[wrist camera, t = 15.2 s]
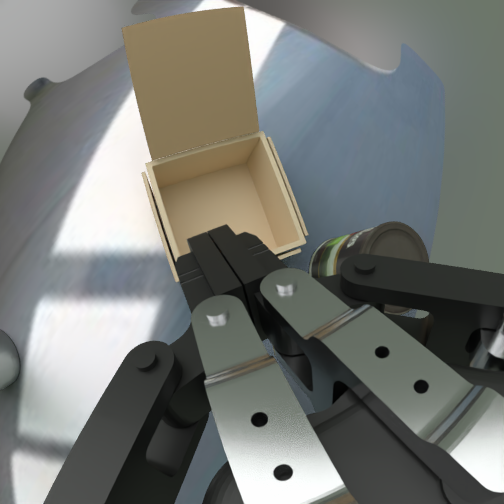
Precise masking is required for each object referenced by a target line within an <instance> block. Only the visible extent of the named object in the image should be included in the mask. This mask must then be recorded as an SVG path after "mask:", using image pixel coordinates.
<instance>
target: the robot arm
mask: <svg viewBox="0 0 504 504" xmlns="http://www.w3.org/2000/svg"><path fill="white" fill-rule="evenodd" d="M187 243H188V246H189V249H190V253H187V254H185V255H182V256H180V257H178V258H177V261H176V264H175V270H176V272H177V275H178V278H179V281H180V284H181V286H182V289H183V292H184V294H185V297H186V300H187V303H188V305H189V308H190V310H191V314H192V315H191V324H190V326H189V328H188V330H187V331H186V332H185V333H184V334H183V335H182V336H181V337H180V338H179V339H177V340H176V341H175V342H173V343H172V344H170V345H167V344H166V343H164V342H160V341H149V342H145V343H142V344H140V345H138V346H136V347H135V348H134V349H132V350H131V351H130V352H129V353H128V354H127V356H126V357H125V359H124V360H123V362H122V364H121V365H120V367H119V368H118V370H117V372H116V373H115V375H114V377H113V378H112V380H111V382H110V383H109V385H108V387H107V388H106V390H105V392H104V393H103V395H102V397H101V398H100V400H99V402H98V404H97V405H96V407H95V409H94V410H93V412H92V414H91V416H90V417H89V419H88V421H87V423H86V424H85V426H84V428H83V430H82V431H81V433H80V435H79V437H78V439H77V440H76V442H75V444H74V446H73V448H72V449H71V451H70V453H69V455H68V457H67V459H66V461H65V462H64V464H63V466H62V468H61V470H60V472H59V474H58V476H57V478H56V480H55V482H54V483H53V485H52V487H51V489H50V491H49V493H48V495H47V497H46V499H45V501H44V503H43V504H174V503H175V500H176V498H177V495H178V493H179V490H180V488H181V486H182V483H183V481H184V478H185V476H186V473H187V471H188V468H189V466H190V463H191V461H192V459H193V456H194V454H195V451H196V449H197V446H198V444H199V441H200V439H201V436H202V433H203V431H204V428H205V426H206V423H207V421H208V418H209V412H210V411H211V410H212V412H213V415H214V419H215V422H216V425H217V428H218V431H219V434H220V437H221V440H222V443H223V446H224V449H225V452H226V455H227V458H228V461H227V462H226V463H225V464H224V465H223V466H222V467H221V468H220V470H219V471H218V472H217V473H216V475H215V476H214V478H213V479H212V481H211V483H210V485H209V487H208V489H207V491H206V494H205V497H204V500H203V503H202V504H504V274H499V273H493V272H487V271H481V270H474V269H468V268H461V267H454V266H448V265H441V264H434V263H428V262H421V261H414V260H407V259H401V258H394V257H387V256H380V255H372V254H357V255H353V256H350V257H348V258H347V259H345V260H344V261H343V262H342V264H341V266H340V274H336V275H331V276H326V277H320V278H313V277H311V276H310V275H309V274H308V273H306V272H305V271H303V270H300V269H296V268H288V267H287V266H286V265H285V264H284V263H283V262H282V261H281V260H280V259H279V258H278V257H277V256H276V255H275V254H274V253H273V252H272V251H271V250H269V248H268V247H267V246H266V245H265V244H263V242H262V241H261V240H260V239H259V238H258V237H257V236H256V235H253V234H250V233H248V232H243V233H240V234H237V235H236V234H235V233H234V232H233V231H232V229H231V228H230V227H229V226H228V225H227V224H225V225H223V226H220V227H217V228H214V229H212V230H209V231H207V232H204V233H201V234H198V235H196V236H193V237H190V238H188V239H187ZM385 304H388V305H394V306H399V307H405V308H412V309H418V310H424V311H427V312H429V315H428V316H426V317H425V318H421V319H418V318H412V317H406V316H400V315H394V314H389V313H384V309H385ZM267 338H268V339H269V340H270V342H271V343H272V345H273V350H274V354H275V357H276V358H277V360H278V361H279V362H280V363H281V365H282V366H283V367H284V368H285V370H286V371H287V372H288V373H289V375H290V376H291V377H292V378H293V379H294V381H295V382H296V383H297V384H298V386H299V387H300V388H301V389H302V391H303V392H304V393H305V394H306V395H307V397H308V398H309V399H310V401H311V403H312V405H313V407H314V409H315V412H316V413H313V414H309V415H305V413H304V412H303V410H302V408H301V406H300V404H299V402H298V400H297V399H296V397H295V395H294V393H293V391H292V389H291V387H290V386H289V384H288V382H287V380H286V378H285V376H284V374H283V372H282V370H281V369H280V367H279V365H278V363H277V361H276V360H275V358H274V357H273V356H269V355H268V353H267V351H266V349H265V347H264V345H263V343H262V341H263V340H265V339H267ZM19 371H20V362H19V356H18V353H17V350H16V347H15V346H14V344H13V342H12V340H11V339H10V338H9V336H8V335H7V334H6V333H4V332H3V331H2V330H0V390H2V389H3V388H5V387H7V386H8V385H10V384H12V383H13V382H14V381H15V380H16V379H17V377H18V375H19Z"/></svg>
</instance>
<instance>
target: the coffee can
mask: <svg viewBox="0 0 504 504" xmlns="http://www.w3.org/2000/svg"><path fill="white" fill-rule="evenodd" d="M357 254H372V255H380V256H387V257H394V258H401V259H407V260H414V261H421V262H428V263H429V258H428V254H427V250H426V248H425V245H424V243H423V241H422V239H421V238H420V236H419V235H418V234H417V233H416V232H415V231H414V230H413V229H412V228H411V227H409V226H408V225H406V224H404V223H401V222H394V221H393V222H387V223H383V224H381V225H379V226H377V227H373V228H370V229H366V230H363V231H359V232H356V233H352V234H349V235H345V236H342V237H338V238H332V239H329V240H327V241H325V242H323V243H322V244H321V245H320V246H319V247H318V248H317V249H316V251H315V252H314V254H313V256H312V258H311V262H310V267H309V275H310V276H311V277H313V278H320V277H326V276H331V275H336V274H340V266H341V264H342V262H343V261H344V260H345V259H347V258H348V257H350V256H353V255H357ZM410 310H412V308H405V307H399V306H394V305H388V304H385V309H384V313H389V314H394V315H401V314H404V313H407V312H409V311H410Z"/></svg>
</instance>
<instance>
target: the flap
mask: <svg viewBox="0 0 504 504" xmlns="http://www.w3.org/2000/svg"><path fill="white" fill-rule="evenodd" d="M122 32H123V38H124V43H125V49H126V54H127V59H128V63H129V68H130V73H131V78H132V82H133V87H134V91H135V95H136V100H137V104H138V108H139V112H140V116H141V120H142V124H143V128H144V132H145V136H146V140H147V143H148V147H149V151H150V155H151V158H152V161H153V160H156V159H159V158H162V157H166V156H169V155H172V154H175V153H179V152H182V151H185V150H189V149H192V148H196V147H199V146H203V145H207V144H210V143H214V142H218V141H222V140H226V139H230V138H234V137H238V136H242V135H246V134H251V133H255V132H259V125H258V116H257V108H256V99H255V91H254V83H253V75H252V67H251V59H250V51H249V44H248V36H247V29H246V21H245V14H244V7H231V8H221V9H212V10H204V11H197V12H191V13H185V14H179V15H174V16H168V17H164V18H159V19H154V20H150V21H146V22H142V23H138V24H135V25H131V26H127V27H124V28H122Z"/></svg>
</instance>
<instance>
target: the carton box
mask: <svg viewBox="0 0 504 504" xmlns="http://www.w3.org/2000/svg"><path fill="white" fill-rule="evenodd" d="M145 164H146V167H147V171H148V175H149V178H150V182H151V185H152V188H153V192H154V195H155V199H156V202H157V205H158V209H159V212H160V215H161V218H162V221H163V225H164V228H165V231H166V234H167V237H168V240H169V243H170V246H171V249H172V252H173V255H174V258H175V261H177V258H178V257H180V256H182V255H185V254H187V253H190V249H189V246H188V243H187V239H188V238H190V237H193V236H196V235H198V234H201V233H204V232H207V231H209V230H212V229H214V228H217V227H220V226H223V225H225V224H227V225H228V226H229V227H230V228H231V229H232V231H233V232H234V233H235V234H236V235H237V234H240V233H243V232H248V233H250V234H253V235H256V236H257V237H258V238H259V239H260V240H261V241H262V242H263V244H265V245H266V246H267V247H268V248H269V250H271V251H272V252H273V253H274V254H275V255H276V254H278V253H281V252H284V251H286V250H289V249H292V248H295V247H297V246H300V245H303V244H305V243H306V240H305V238H304V236H306V235H308V232H307V230H306V227H305V224H304V221H303V219H302V216H301V213H300V211H299V208H298V205H297V203H296V200H295V197H294V195H293V192H292V190H291V187H290V184H289V182H288V179H287V177H286V174H285V172H284V169H283V167H282V164H281V162H280V159H279V157H278V154H277V152H276V149H275V147H274V145H273V142H272V140H271V137H267V139H266V137H265V134H264V132H263V131H262V132H257V133H253V134H248V135H244V136H240V137H235V138H231V139H227V140H223V141H219V142H216V143H212V144H208V145H204V146H201V147H197V148H194V149H190V150H187V151H183V152H180V153H177V154H173V155H170V156H167V157H164V158H161V159H157V160H154V161H151V162H148V163H145ZM142 177H143V180H144V184H145V187H146V191H147V194H148V198H149V201H150V204H151V208H152V211H153V214H154V218H155V221H156V224H157V227H158V230H159V234H160V237H161V240H162V243H163V246H164V249H165V252H166V255H167V258H168V261H169V264H170V267H171V270H172V272H173V275H174V278H175V281H176V282H179V278H178V275H177V272H176V270H175V261H174V258H173V255H172V252H171V249H170V246H169V243H168V240H167V237H166V234H165V231H164V228H163V225H162V222H161V218H160V215H159V212H158V209H157V205H156V202H155V199H154V195H153V192H152V189H151V187H150V184H149V181H148V179H147V176H146V173H145V172H142ZM299 252H301V249H300V248H299V249H296V250H292V251H289V252H285V253H282V254H278V255H276V256H277V257H278V258H279V259H280V260H281V259H283V258H286V257H289V256H291V255H294V254H297V253H299Z"/></svg>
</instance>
